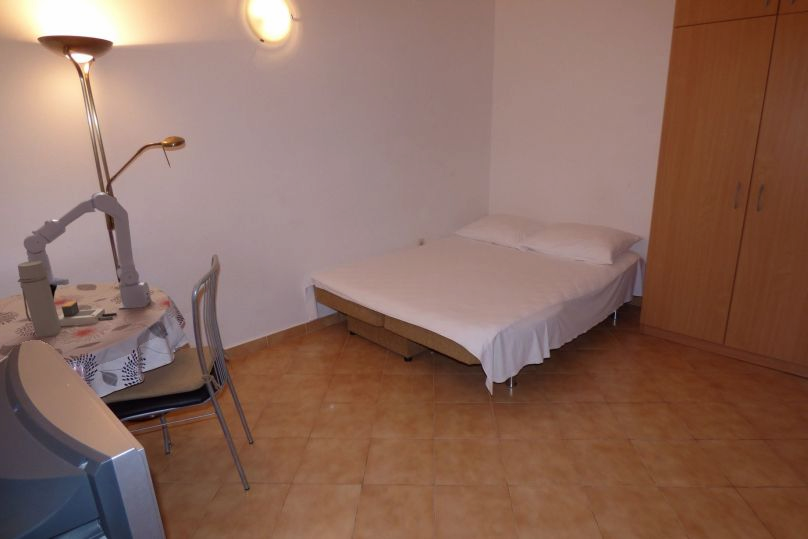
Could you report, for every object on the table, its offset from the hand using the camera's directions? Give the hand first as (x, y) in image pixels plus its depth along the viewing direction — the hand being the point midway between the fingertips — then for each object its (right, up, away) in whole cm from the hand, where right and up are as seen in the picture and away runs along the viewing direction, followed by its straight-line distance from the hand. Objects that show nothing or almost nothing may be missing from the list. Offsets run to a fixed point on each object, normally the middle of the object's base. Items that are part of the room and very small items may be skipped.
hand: (50, 305), depth 172 cm
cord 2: (+17, -4, +6) cm, 19 cm away
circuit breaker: (+9, -6, +3) cm, 11 cm away
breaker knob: (+6, -3, +2) cm, 7 cm away
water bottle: (+5, -9, -8) cm, 13 cm away
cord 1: (+18, -5, +3) cm, 19 cm away
